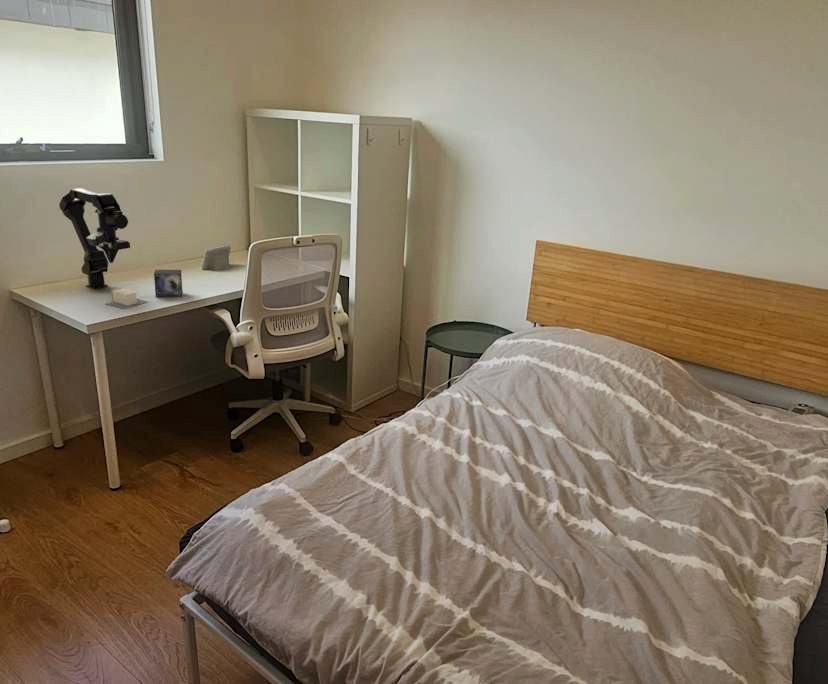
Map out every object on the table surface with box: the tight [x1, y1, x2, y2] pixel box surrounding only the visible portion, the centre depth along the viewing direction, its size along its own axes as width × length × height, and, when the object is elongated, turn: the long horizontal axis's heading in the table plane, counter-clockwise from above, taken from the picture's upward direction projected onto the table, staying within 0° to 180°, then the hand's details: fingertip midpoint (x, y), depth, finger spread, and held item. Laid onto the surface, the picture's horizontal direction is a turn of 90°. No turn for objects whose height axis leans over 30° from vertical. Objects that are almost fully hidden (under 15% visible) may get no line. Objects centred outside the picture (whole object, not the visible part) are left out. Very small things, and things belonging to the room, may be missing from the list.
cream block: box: [111, 287, 138, 306], centre depth 245 cm, size 4×4×9 cm
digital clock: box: [201, 245, 231, 272], centre depth 304 cm, size 16×9×11 cm, turn 140°
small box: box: [153, 269, 184, 298], centre depth 257 cm, size 11×6×10 cm, turn 106°
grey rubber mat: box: [105, 298, 148, 310], centre depth 245 cm, size 10×12×1 cm
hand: (111, 262), depth 252 cm, fingers closed
